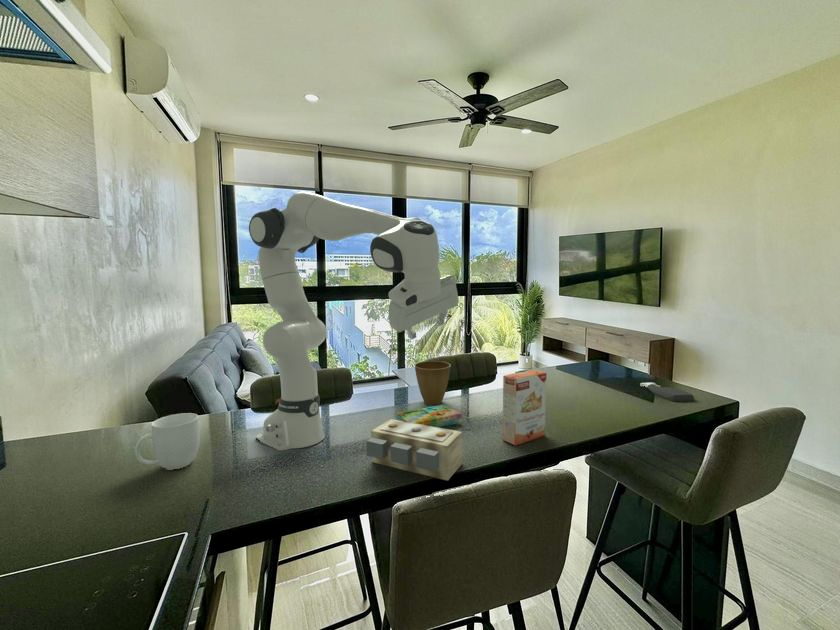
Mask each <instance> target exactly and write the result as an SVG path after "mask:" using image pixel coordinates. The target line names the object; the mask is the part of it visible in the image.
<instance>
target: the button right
mask: <svg viewBox="0 0 840 630" xmlns="http://www.w3.org/2000/svg"><path fill="white" fill-rule="evenodd" d="M416 465H417V468H421V469H425V470H429V471H433V472H435V471H436V470H437V469H438V468H439V452H438V451H433V450H428V449H424V448H420V449H419V450H418V451H417V452H416Z"/></svg>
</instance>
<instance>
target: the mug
mask: <svg viewBox="0 0 840 630" xmlns="http://www.w3.org/2000/svg"><path fill="white" fill-rule="evenodd" d="M199 420H200V419H199V415H198V414H197V413H192V412H187V413H185V412H184V413H183V412H181V413H176V414H169V415H166V416H162V417H160V418H157V419H155V420H154V421H152V423H151V425H150V426H151V432H150V433H146V434H144V435H142V436H141V437H140V438H139V439H138V441H137V442H136V443H135V444H136V445H135V448H134V455H135V457H136V459H137V461H138V462H139V463H141V464H144V465H149V466H150V465H160V466H161V467H162V468H163V467H165V468H175V467H181V466H184V465H187V464H189V463H190V462H192V461H193V460H195V458H196V456H197V454H198V451H199V447H200V433H201V432H200V423H199ZM146 439H147V440H148V439H151V440H152V445H153V451H154V452H153V453H154V454H155V458H156V459H154V460H148V459H145V458H143V456H142V455H141V453H140V447H141V444H142V443H143V442H144V441H145V440H146ZM193 462H194V461H193ZM193 462H192V463H193Z"/></svg>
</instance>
